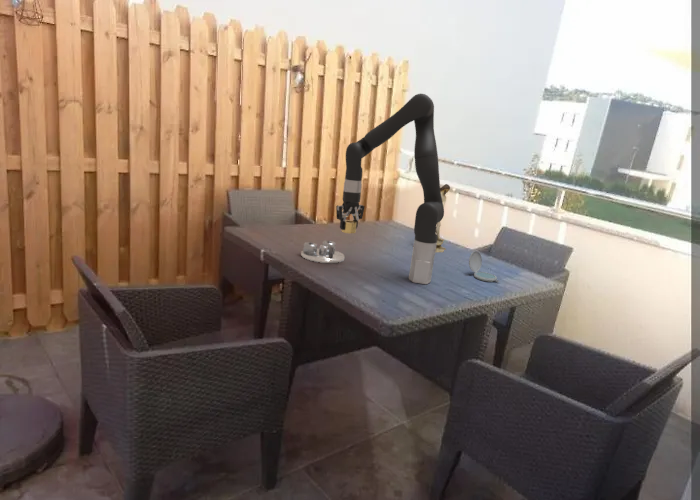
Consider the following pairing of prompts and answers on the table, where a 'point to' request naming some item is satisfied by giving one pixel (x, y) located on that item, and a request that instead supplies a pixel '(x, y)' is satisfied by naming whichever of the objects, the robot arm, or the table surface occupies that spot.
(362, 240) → the table surface
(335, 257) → the carrier
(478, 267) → the pocket watch
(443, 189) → the statue
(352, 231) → the planet gear
